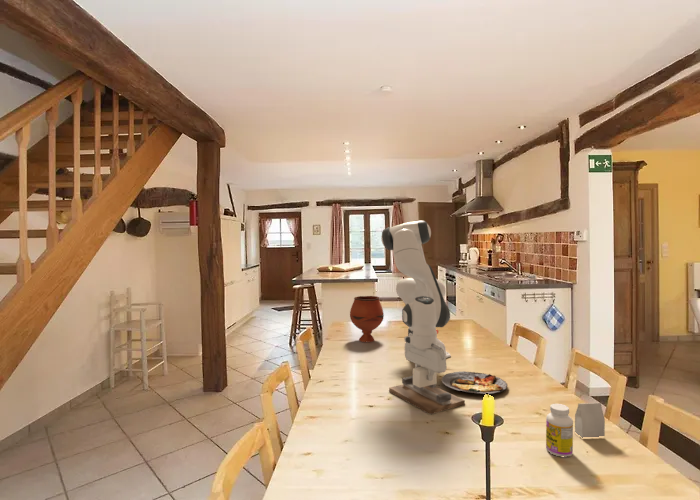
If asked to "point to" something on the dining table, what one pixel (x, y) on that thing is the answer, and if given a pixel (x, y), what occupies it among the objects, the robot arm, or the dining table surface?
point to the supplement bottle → (559, 431)
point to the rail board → (426, 397)
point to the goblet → (366, 315)
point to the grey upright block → (589, 420)
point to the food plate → (474, 382)
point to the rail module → (423, 378)
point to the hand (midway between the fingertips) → (424, 377)
